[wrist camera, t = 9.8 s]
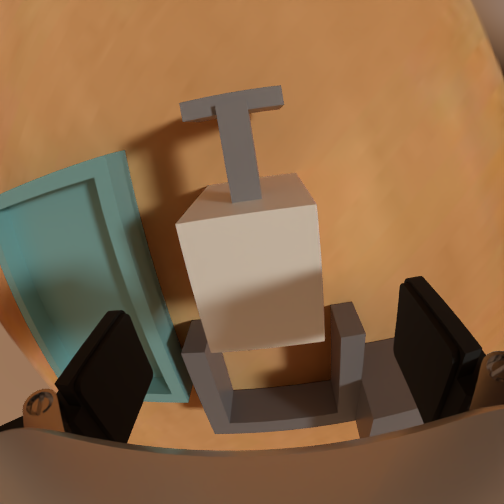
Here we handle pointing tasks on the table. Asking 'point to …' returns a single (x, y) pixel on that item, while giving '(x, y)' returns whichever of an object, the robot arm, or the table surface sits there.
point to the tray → (87, 267)
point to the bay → (309, 387)
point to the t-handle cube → (252, 239)
